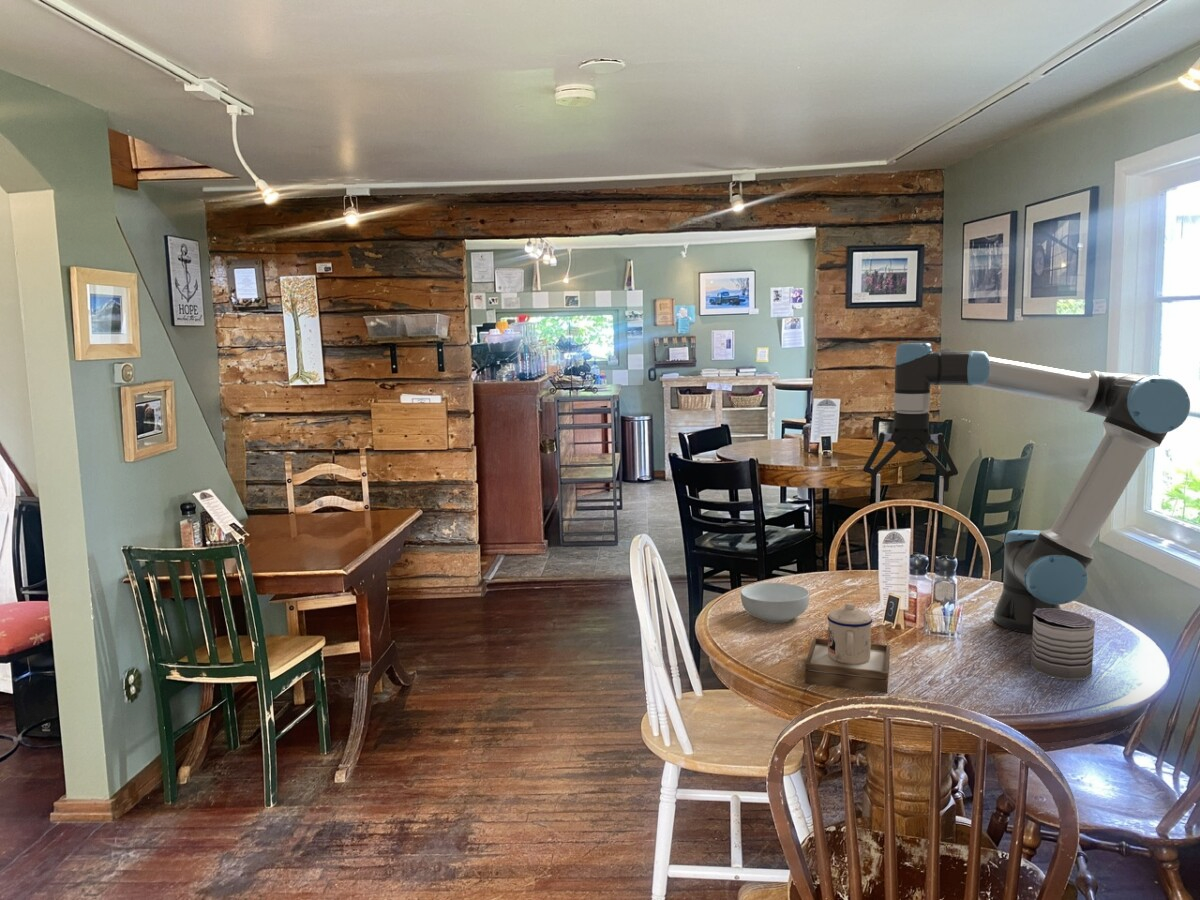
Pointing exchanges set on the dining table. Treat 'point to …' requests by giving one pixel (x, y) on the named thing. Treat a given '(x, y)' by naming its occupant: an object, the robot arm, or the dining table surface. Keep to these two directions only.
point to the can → (1062, 644)
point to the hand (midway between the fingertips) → (908, 504)
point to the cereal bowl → (775, 601)
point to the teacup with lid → (849, 635)
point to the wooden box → (848, 669)
